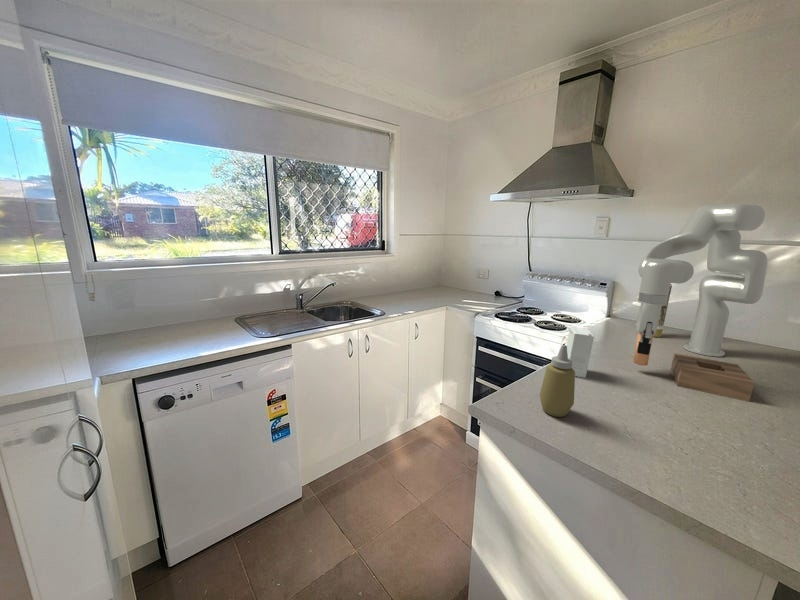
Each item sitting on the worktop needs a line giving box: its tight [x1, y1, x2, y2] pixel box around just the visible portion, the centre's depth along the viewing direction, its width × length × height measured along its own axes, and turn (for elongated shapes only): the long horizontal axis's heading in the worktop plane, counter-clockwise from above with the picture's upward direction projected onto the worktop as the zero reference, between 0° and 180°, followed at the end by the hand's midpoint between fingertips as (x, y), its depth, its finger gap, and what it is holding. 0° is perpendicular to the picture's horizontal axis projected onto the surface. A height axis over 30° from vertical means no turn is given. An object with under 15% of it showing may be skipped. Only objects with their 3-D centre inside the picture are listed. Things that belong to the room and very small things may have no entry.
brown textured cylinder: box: [653, 283, 673, 338], centre depth 152 cm, size 7×7×25 cm
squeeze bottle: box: [539, 344, 576, 418], centre depth 83 cm, size 8×8×18 cm
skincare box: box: [566, 325, 595, 379], centre depth 108 cm, size 8×6×15 cm
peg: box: [632, 331, 654, 367], centre depth 109 cm, size 4×4×14 cm
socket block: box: [670, 352, 755, 402], centre depth 104 cm, size 16×16×6 cm
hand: (642, 351), depth 110 cm, fingers closed on peg, 4 cm apart
